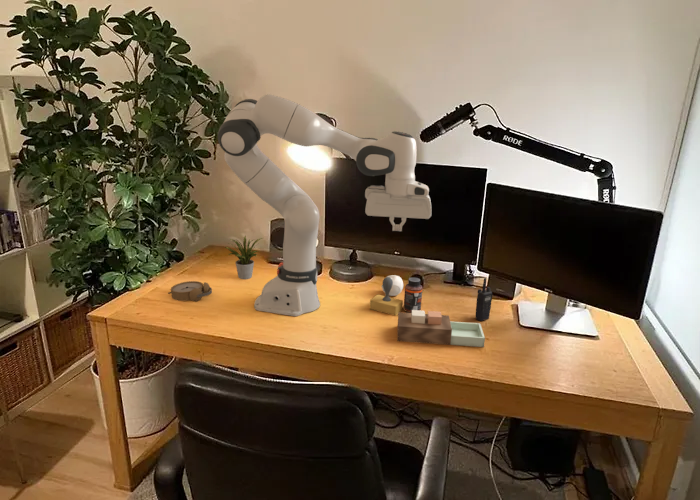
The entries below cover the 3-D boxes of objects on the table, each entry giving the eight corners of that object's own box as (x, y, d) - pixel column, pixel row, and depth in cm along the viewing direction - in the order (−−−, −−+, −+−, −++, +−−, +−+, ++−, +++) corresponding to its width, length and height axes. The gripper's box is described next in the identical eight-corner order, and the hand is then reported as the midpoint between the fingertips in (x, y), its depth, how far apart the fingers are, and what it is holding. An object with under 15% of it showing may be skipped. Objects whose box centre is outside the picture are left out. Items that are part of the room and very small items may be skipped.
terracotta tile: (427, 323, 165) (428, 316, 164) (427, 318, 168) (427, 310, 168) (441, 324, 164) (441, 317, 164) (440, 319, 168) (440, 311, 167)
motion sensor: (386, 289, 203) (387, 270, 200) (405, 293, 200) (407, 273, 197) (378, 296, 196) (379, 276, 193) (397, 301, 193) (399, 280, 190)
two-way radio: (479, 322, 178) (484, 280, 173) (470, 317, 182) (474, 275, 177) (491, 318, 181) (496, 277, 176) (481, 313, 185) (486, 273, 180)
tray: (450, 344, 163) (451, 335, 162) (447, 329, 172) (448, 321, 171) (483, 347, 162) (484, 338, 161) (479, 331, 172) (480, 323, 171)
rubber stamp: (402, 310, 186) (404, 277, 182) (395, 316, 181) (397, 283, 177) (376, 303, 190) (378, 271, 186) (369, 309, 185) (370, 277, 182)
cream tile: (411, 322, 165) (412, 315, 164) (411, 317, 169) (411, 309, 168) (424, 323, 165) (425, 316, 164) (424, 317, 168) (424, 310, 168)
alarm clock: (182, 280, 198) (217, 279, 193) (185, 292, 199) (220, 292, 194) (163, 291, 188) (199, 290, 183) (166, 304, 189) (202, 303, 184)
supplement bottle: (420, 314, 183) (422, 283, 179) (402, 312, 184) (404, 281, 180) (421, 307, 188) (423, 277, 185) (404, 305, 189) (406, 275, 186)
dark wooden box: (397, 341, 164) (398, 326, 162) (397, 326, 173) (398, 312, 172) (450, 344, 163) (451, 329, 161) (447, 329, 172) (448, 315, 171)
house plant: (253, 267, 221) (251, 228, 215) (272, 276, 211) (271, 237, 206) (222, 274, 211) (220, 235, 206) (240, 285, 202) (239, 243, 197)
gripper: (364, 187, 160) (363, 231, 165) (433, 190, 159) (430, 235, 163) (366, 183, 166) (364, 226, 171) (432, 186, 165) (429, 229, 169)
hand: (397, 230), depth 167 cm, fingers closed
